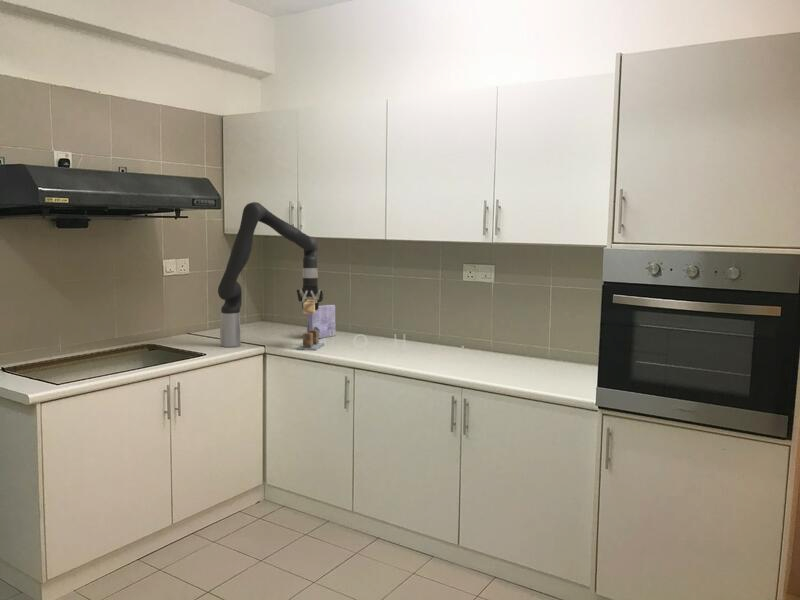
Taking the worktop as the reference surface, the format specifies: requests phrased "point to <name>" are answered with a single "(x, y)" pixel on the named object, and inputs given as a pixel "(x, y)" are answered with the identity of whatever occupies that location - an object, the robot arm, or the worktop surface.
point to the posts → (310, 338)
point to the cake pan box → (322, 321)
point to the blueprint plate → (312, 347)
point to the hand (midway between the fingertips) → (310, 309)
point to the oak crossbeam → (309, 307)
